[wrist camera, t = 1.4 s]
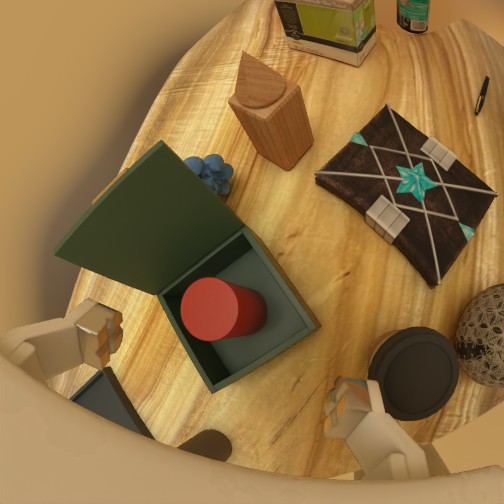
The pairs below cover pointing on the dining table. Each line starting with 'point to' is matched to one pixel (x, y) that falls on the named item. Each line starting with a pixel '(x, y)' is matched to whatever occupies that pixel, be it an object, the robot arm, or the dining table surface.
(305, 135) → the decorative item
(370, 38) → the tea box
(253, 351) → the chest
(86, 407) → the tray
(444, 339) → the coffee cup
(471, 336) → the decorative egg
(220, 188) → the grapes
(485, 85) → the fountain pen
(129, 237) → the chest lid
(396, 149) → the book
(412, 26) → the beverage can
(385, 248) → the dining table surface
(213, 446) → the bottle
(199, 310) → the red cylinder
